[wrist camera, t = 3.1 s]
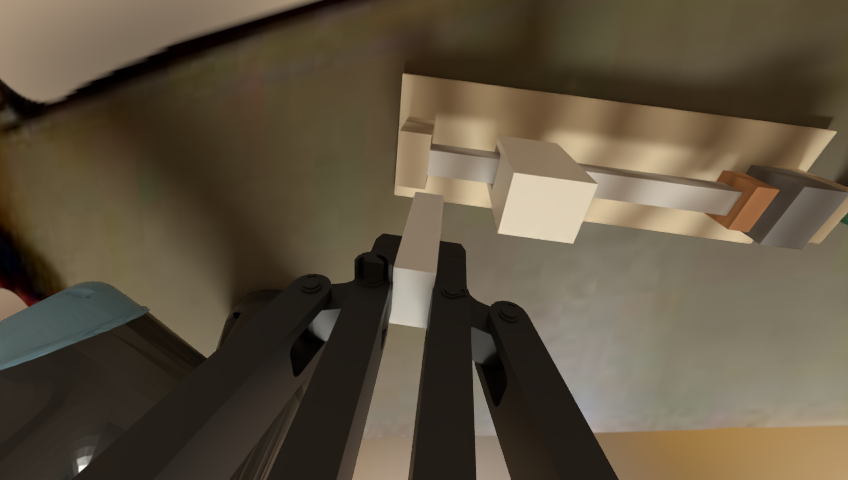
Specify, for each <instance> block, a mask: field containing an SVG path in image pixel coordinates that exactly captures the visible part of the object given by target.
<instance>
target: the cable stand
mask: <svg viewBox="0 0 848 480" xmlns="http://www.w3.org/2000/svg"><path fill="white" fill-rule="evenodd" d="M835 134H836V131H832V130H828V129H820V128H813V127H805V126H798V125H790V124H783V123H775V122H768V121H760V120H753V119H745V118H738V117H730V116H723V115H715V114H708V113H700V112H692V111H685V110H677V109H670V108H662V107H655V106H647V105H640V104H632V103H625V102H617V101H610V100H602V99H595V98H587V97H580V96H572V95H564V94H557V93H549V92H542V91H534V90H527V89H519V88H512V87H504V86H497V85H489V84H482V83H474V82H467V81H459V80H452V79H444V78H436V77H429V76H421V75H414V74H406V73H403V77H402V91H401V106H400V121H399V135H398V150H397V165H396V179H395V194H394V195H400V196H407V197H414V195H415V192H422V193H429V194H436V195H443V196H444V202H450V203H458V204H465V205H472V206H479V207H487V208H492V205H491V201H490V196H489V192H488V187H487V183H490V184H494V181H495V176H496V172H497V168H498V164H499V160H500V156H501V155H500V152H494V147H495V143H496V138H497V135H500V136H508V137H515V138H523V139H530V140H537V141H545V142H552V143H557V144H558V145H559V146H561V147H562V148H563V149H564V150H565V151H566V152H567V153H568V154H569V155H570V156H571V157H572V158H573V159H574V160H575V161H576V162H577V163H578V164H579V165H580V166H581V167H582V168H583V169H584V170H585V171H586V172H587V173H588V174H589V175H590V176H591V177H592V178H593V179H594V180H595V181H596V182H597V183H598V186H597V188H596V191H595V193H594V195H593V198H592V200H591V203H590V205H589V207H588V210H587V212H586V214H585V217H584V219H583V221H588V222H596V223H603V224H610V225H617V226H625V227H632V228H639V229H646V230H654V231H661V232H668V233H675V234H683V235H690V236H697V237H704V238H712V239H719V240H726V241H734V242H741V243H748V244H751V243H752V242H753V240H754V241H756V242H757V243H759V244H762V245H769V246H777V247H784V248H791V249H798V250H801V249H802V248H803V247H804V246H805V245H806V244H807V243H808V242H810V243H817V244H820V242H821V241H822V240H823V239H824V238H825V237H826V236H827V235H828V234H829V233H830V231H831V230H832V229H833V228H834V227H835V226H836V225H837V224H838V223H839V221H840V220H841V219H842V218H843V217H844V216H845V215H846V214H847V213H848V187H846V186H843V185H840V184H838V183H835V182H832V181H830V180H827V179H824V178H821V177H819V176H816V175H813V174H811V173H808V172H806V171H807V170H808V169H809V168H810V166H811V165H812V164H813V162H814V161H815V160H816V158H817V157H818V156H819V155H820V153H821V152H822V151H823V149H824V148H825V147H826V145H827V144H828V143H829V142H830V140H831V139H832V138H833V136H834V135H835Z"/></svg>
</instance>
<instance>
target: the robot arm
mask: <svg viewBox="0 0 848 480" xmlns="http://www.w3.org/2000/svg"><path fill="white" fill-rule="evenodd" d="M443 203H444V196H443V195H436V194H429V193H422V192H415V195H414V199H413V202H412V205H411V209H410V212H409V216H408V219H407V223H406V226H405V229H404V233H403V236H397V235H390V234H382V235H381V236H379V237H378V238H377V239H376V241H375V243H374V245H373V248H372V250H371V252H366V253H362V254H361V255H359V256H357V258H356V259H355V279H354V280H353V281H350V282H347V283H340V284H331V282H330V280H329V279H328V278H327V277H325V276H323V275H319V274H308V275H305V276H302V277H300V278H298V279H296V280H295V281H294V282H293V283H292V284H290V285H289V286H288V287H287V288H286V289H285V290H284V291H275V290H266V291H259V292H255V293H252V294H249V295H247V296H246V297H244V298H243V299H242V300H240V302H239V303H238V304H237V305H236V306H235V308H234V309H233V310H232V311H231V312H230V314H229V315H228V317H227V319H226V322H225V325H224V328H223V331H222V334H221V337H220V340H219V343H218V346H217V349H216V351H215V352H214V353H213V354H212V355H211V356H210V357H208V358H206V357H204V356H203V355H202V354H201V353H199V352H198V351H197V350H196V349H194V348H193V347H192V346H191V345H189V344H188V343H187V342H186V341H184V340H183V339H182V338H181V337H179V336H178V335H177V334H176V333H174V332H173V331H172V330H170V329H169V328H168V327H167V326H165V325H164V324H163V323H162V322H160V321H159V320H158V319H157V318H155V317H154V316H153V315H152V314H150V313H149V312H148V311H149V310H150V309H148V308H147V307H146V306H140V305H139V304H137V303H136V302H135V301H133V300H132V299H130V298H129V297H128V296H126V295H125V294H123V293H122V292H121V291H119V290H118V289H116V288H115V287H113V286H111V285H109V284H107V283H103V282H95V281H92V282H83V283H79V284H76V285H74V286H71V287H69V288H67V289H65V290H63V291H61V292H59V293H57V294H55V295H53V296H51V297H48V298H46V299H44V300H42V301H40V302H38V303H36V304H34V305H32V306H30V307H28V308H26V309H24V310H22V311H20V312H18V313H16V314H14V315H12V316H10V317H8V318H6V319H4V320H2V321H1V322H0V480H352V477H353V473H354V468H355V465H356V460H357V456H358V452H359V448H360V444H361V440H362V436H363V432H364V428H365V423H366V419H367V415H368V411H369V407H370V403H371V399H372V395H373V390H374V386H375V382H376V378H377V374H378V370H379V366H380V362H381V358H382V353H383V349H384V345H385V341H386V337H387V331H388V322H389V323H394V324H401V325H408V326H414V327H421V328H427V330H426V336H425V342H424V348H423V360H422V369H421V377H420V385H419V394H418V402H417V410H416V419H415V427H414V435H413V444H412V452H411V461H410V469H409V478H408V480H476V459H475V458H476V457H475V429H474V400H473V372H472V360H473V361H475V366H476V370H477V373H478V376H479V379H480V382H481V385H482V389H483V392H484V395H485V398H486V401H487V404H488V408H489V411H490V414H491V417H492V420H493V423H494V427H495V430H496V433H497V436H498V439H499V443H500V445H501V449H502V452H503V455H504V458H505V462H506V464H507V468H508V471H509V474H510V477H511V480H619V479H618V478H617V476H616V474H615V472H614V471H613V469H612V467H611V465H610V463H609V461H608V459H607V458H606V456H605V454H604V452H603V450H602V449H601V447H600V445H599V443H598V441H597V440H596V438H595V436H594V434H593V432H592V430H591V429H590V427H589V425H588V423H587V421H586V420H585V418H584V416H583V414H582V412H581V411H580V409H579V407H578V405H577V403H576V402H575V400H574V398H573V396H572V394H571V393H570V391H569V389H568V387H567V385H566V383H565V382H564V380H563V378H562V376H561V374H560V373H559V371H558V369H557V367H556V365H555V364H554V362H553V360H552V358H551V356H550V355H549V353H548V351H547V349H546V347H545V345H544V344H543V342H542V340H541V338H540V336H539V335H538V333H537V331H536V329H535V327H534V326H533V324H532V322H531V320H530V318H529V317H528V315H527V313H526V312H525V311H524V310H523V308H521V307H520V306H518V305H517V304H514V303H512V302H508V301H498V302H495V303H494V304H492V305H491V307H490V306H488V305H485V304H483V303H481V302H478V301H477V300H475V299H474V298H473V297H472V296H471V295H470V294H469V291H468V289H467V284H466V251H465V249H464V248H463V246H462V245H461V244H458V243H451V242H444V241H440V233H441V223H442V213H443ZM389 318H390V320H389Z"/></svg>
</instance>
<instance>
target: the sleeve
mask: <svg viewBox="0 0 848 480" xmlns="http://www.w3.org/2000/svg"><path fill="white" fill-rule="evenodd" d="M494 152H500V155H501V156H500V160H499V164H498V168H497V172H496V176H495V181H494V184H490V183H487V187H488V192H489V196H490V201H491V205H492V210H493V214H494V219H495V223H496V228H497V233H500V234H507V235H514V236H521V237H528V238H536V239H543V240H550V241H557V242H564V243H572V244H573V243H574V240H575V238H576V236H577V233H578V231H579V229H580V226H581V224H582V221H583V219H584V217H585V214H586V212H587V210H588V207H589V205H590V203H591V200H592V198H593V195H594V193H595V191H596V188H597V186H598V183H597V182H596V181H595V180H594V179H593V178H592V177H591V176H590V175H589V174H588V173H587V172H586V171H585V170H584V169H583V168H582V167H581V166H580V165H579V164H578V163H577V162H576V161H575V160H574V159H573V158H572V157H571V156H570V155H569V154H568V153H567V152H566V151H565V150H564V149H563V148H562V147H561V146H559V145H558V144H557V143H552V142H545V141H537V140H530V139H523V138H515V137H508V136H500V135H497V138H496V143H495V147H494Z"/></svg>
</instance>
